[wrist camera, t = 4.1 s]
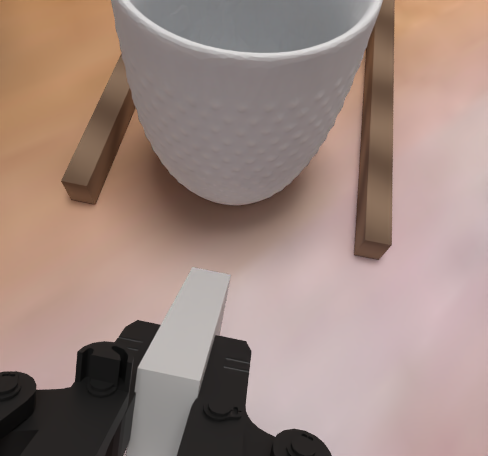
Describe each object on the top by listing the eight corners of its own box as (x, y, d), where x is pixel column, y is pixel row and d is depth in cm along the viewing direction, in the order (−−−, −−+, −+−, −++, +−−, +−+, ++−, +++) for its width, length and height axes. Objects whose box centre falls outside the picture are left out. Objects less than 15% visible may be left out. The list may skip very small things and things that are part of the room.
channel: (378, 259, 25) (391, 245, 24) (71, 199, 26) (61, 181, 24) (385, 19, 36) (394, -3, 34) (169, -20, 37) (167, -44, 35)
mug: (245, 52, 33) (264, -162, 22) (368, 118, 31) (464, -82, 19) (111, 175, 27) (37, -34, 15) (253, 271, 24) (293, 110, 13)
